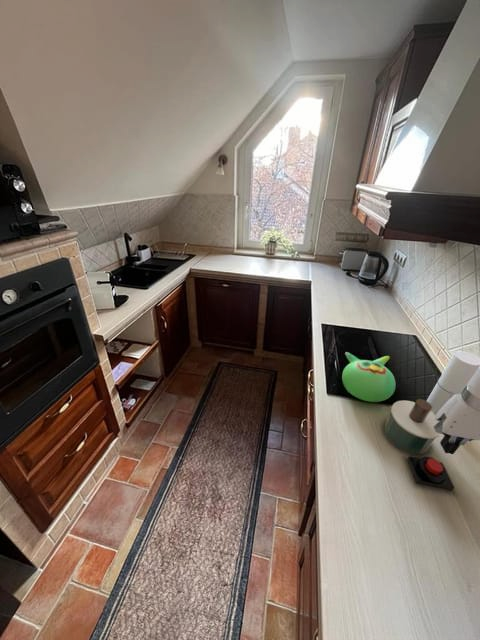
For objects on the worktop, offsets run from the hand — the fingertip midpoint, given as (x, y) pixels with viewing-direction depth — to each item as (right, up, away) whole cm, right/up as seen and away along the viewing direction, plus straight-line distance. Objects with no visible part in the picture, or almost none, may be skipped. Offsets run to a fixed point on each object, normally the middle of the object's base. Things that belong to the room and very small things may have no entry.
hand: (446, 448), depth 66 cm
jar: (0, -4, +17) cm, 17 cm away
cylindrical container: (+17, 0, +26) cm, 31 cm away
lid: (+1, +3, +12) cm, 13 cm away
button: (0, -8, +5) cm, 9 cm away
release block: (0, -11, +6) cm, 12 cm away
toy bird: (-6, +5, +33) cm, 34 cm away
